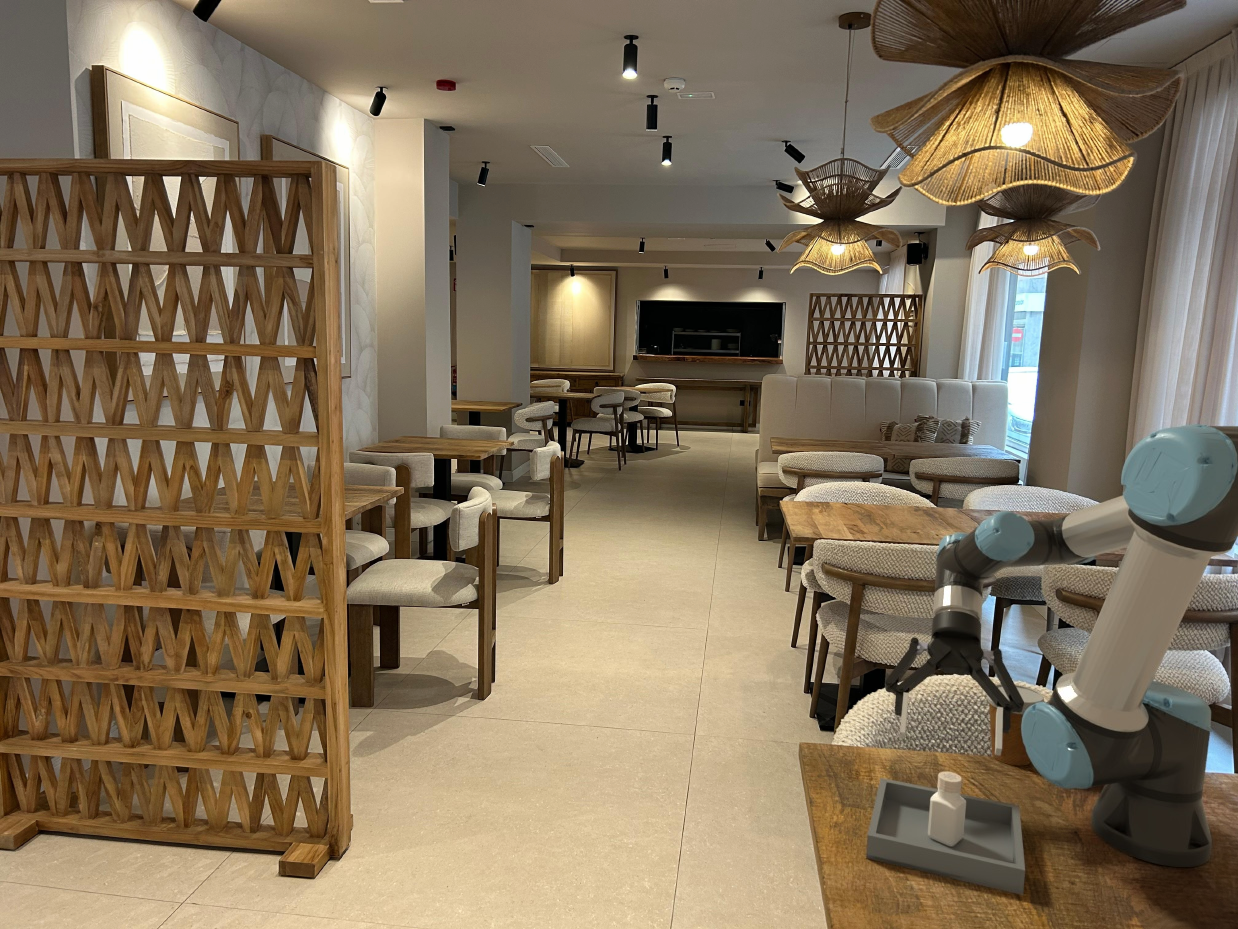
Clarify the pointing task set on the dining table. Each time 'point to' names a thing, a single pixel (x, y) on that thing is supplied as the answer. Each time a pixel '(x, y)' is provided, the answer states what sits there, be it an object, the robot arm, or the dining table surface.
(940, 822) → the pepper shaker
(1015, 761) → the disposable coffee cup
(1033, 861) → the dining table surface
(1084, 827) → the dining table surface
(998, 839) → the box
